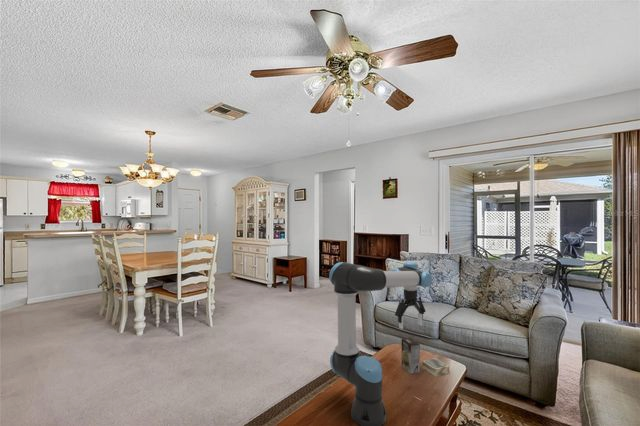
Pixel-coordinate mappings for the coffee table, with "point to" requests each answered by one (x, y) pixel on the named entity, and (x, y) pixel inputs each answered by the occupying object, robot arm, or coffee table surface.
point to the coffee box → (410, 355)
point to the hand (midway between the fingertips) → (410, 326)
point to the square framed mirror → (435, 367)
